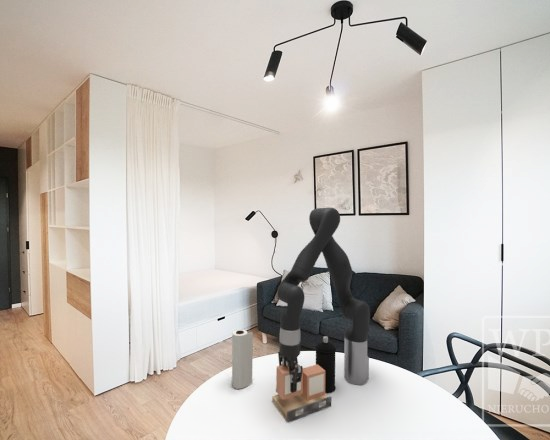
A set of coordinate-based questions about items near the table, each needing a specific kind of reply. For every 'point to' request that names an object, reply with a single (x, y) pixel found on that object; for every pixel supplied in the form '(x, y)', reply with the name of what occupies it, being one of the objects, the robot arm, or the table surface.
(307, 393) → the carton faced
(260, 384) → the table surface
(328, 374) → the aerosol can
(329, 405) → the tan flat block
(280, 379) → the carton
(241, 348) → the paper towel roll
